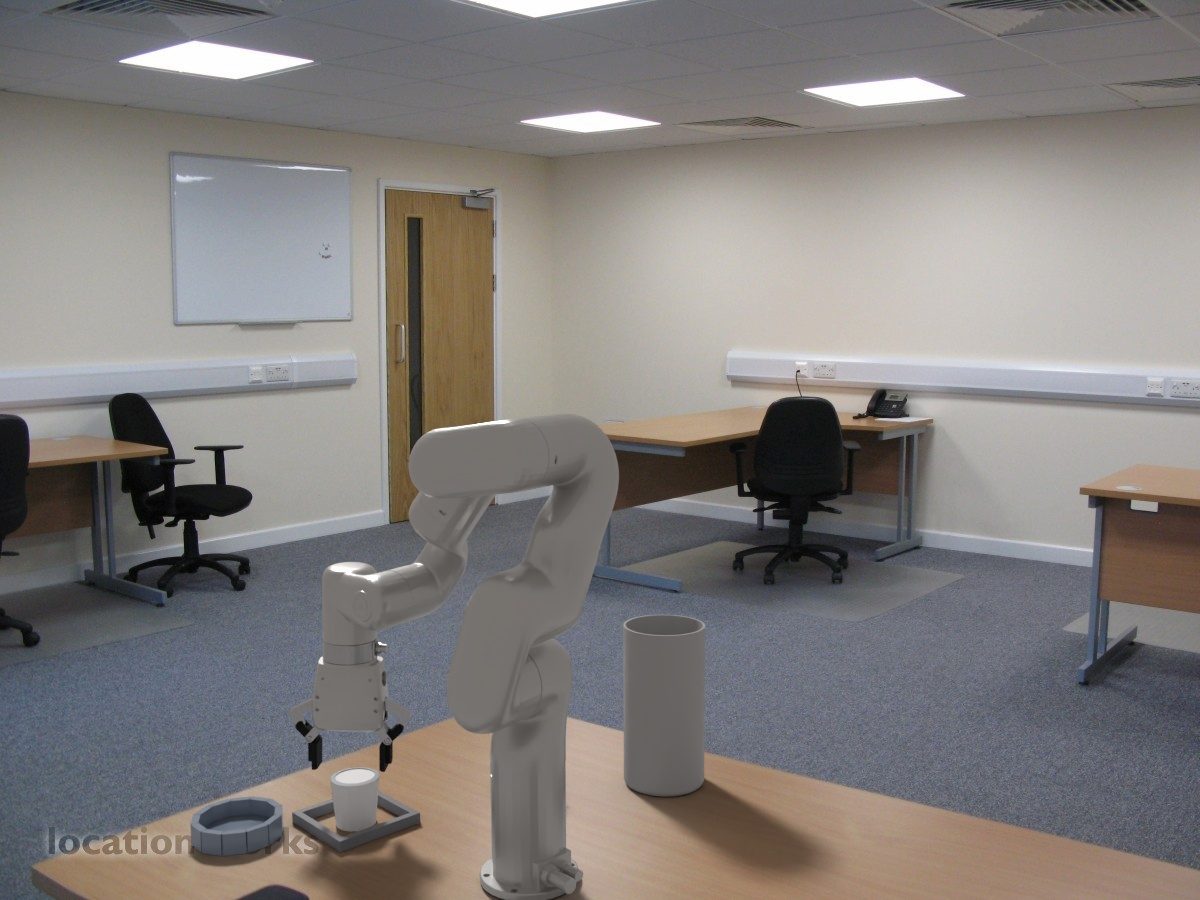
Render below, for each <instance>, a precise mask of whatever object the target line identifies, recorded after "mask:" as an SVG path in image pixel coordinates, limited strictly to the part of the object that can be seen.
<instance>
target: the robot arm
mask: <svg viewBox="0 0 1200 900" xmlns="http://www.w3.org/2000/svg"><path fill="white" fill-rule="evenodd" d="M610 440H611V439H609V437H608V436H607V434H606V433H605V432H604V430H603V429H602V428H601V427H599V425H598V424H597V423H595V422H593V421H592V420H590V419H589V418H587V417H584V416H581V415H577V414H573V413H572V414H571V413H552V414H551V413H550V414H549V413H548V414H542V415H541V414H540V415H535V416H526V417H518V418H517V417H516V418H508V419H507V418H506V419H501V420H494V421H487V422H482V423H476V424H466V425H457V426H456V425H455V426H447V427H440V428H435V429H432V430H430V431H427V432H426V433H424V434H423V435H421V437H420V438H418V440H417V441H416V442H415V444H414V445H413V448H412V449H411V451H410V455H409V458H408V473H409V478H410V480H411V482H412V484H413V485H414V487H415V488H416V489H417V490H418V493H417V495H416V496H415V498H414V499H413V501H412V503H411V504H410V506H409V509H408V520H409V523H410V525H411V526H412V529H413V530H414V531H415V532H416V534H418V535H419V536H420V537H421V538H422V539H423V540H424V541H426V543H425V545H424V547H423V548H422V550H421V551H420V553H419V554H418V556H417V557H416V559H415V560H414V561H413V563H411V564H408V565H407V564H406V565H402V566H398V567H395V568H391V569H387V570H384V571H380V572H377V571H376V568H375V567H374V566H372V565H371V564H369V563H366V562H361V561H360V562H359V561H343V562H338V563H334V564H331V565H329V566H328V567H326V568H325V569H324V570H323V574H322V578H321V580H322V582H321V588H322V589H321V591H322V592H321V593H322V594H321V595H322V596H321V598H322V600H321V603H322V604H321V606H322V607H321V608H322V609H321V613H322V619H321V620H322V656H320V658H319V659H318V662H317V667H316V672H315V679H314V685H313V686H314V687H313V696H312V697H311V698H308V699H306V700H304V701H302V702H300V703H298V704H296V705H293V706H292V707H291V708H290V709H289V710H288V715H289V717H290V719H291V721H292V722H293V724H294V725H295V726H294V727H295V730H297V731H298V733H300V735H302V737H304V741H305V742H306V743H307V755H308V756H307V759H308V762H311V770H312V771H316V770H318V768H319V767H320V766H321V764H322V763H323V737H322V734H321V732H322V731H327V732H330V731H331V732H354V733H355V732H356V733H375V735H376V736H377V737H378V738H379V739H380V741H381V742H380V744H379V748H378V749H379V752H378V753H379V758H378V759H379V761H378V762H379V764H378V765H379V769H378V770H379V772H380V773H385V772H386V770H387V769H388V766H389V765H391V764H392V763H393V759H394V758H393V755H394V754H393V751H394V750H393V748H394V747H393V743H394V741H395V739H396V738H398V737H399V736H400V735H401V734H402V733H403V731H404V730H405V727H406V726H407V724H408V723H409V721H410V719H411V717H412V714H413V713H412V710H411V709H409V708H406V707H405V706H403V705H401V704H399V703H397V702H395V701H393V700H391V699H390V698H389V690H388V689H389V687H388V680H387V672H386V665H385V661H384V658H383V656H379V655H382V654H387V653H388V648H389V646H388V643H383V642H380V640H379V636H378V631H383V630H386V629H389V628H392V627H393V628H394V627H395V626H399V625H402V624H404V623H407V622H410V621H414V620H416V619H420V618H422V617H426V616H429V615H431V614H433V613H434V612H436V611H437V610H438V609H439V608H441V606H442V605H443V604H444V603H445V602H446V601H447V599H448V598H450V597H449V596H451V594H452V593H453V591H454V589H455V588H456V586H457V585H458V583H459V582H460V580H461V579H462V577H463V576H464V573H465V572H466V568H467V564H468V553H469V546H468V545H469V544H468V540H467V539H468V537H469V536H470V535H471V533H472V531H473V530H474V528H475V527H476V525H477V524H478V523H479V521H480V519H481V518H482V517H483V515H484V513H485V512H486V510H487V509H488V507H489V506H490V504H491V503H492V501H493V500H494V498H495V497H496V496H497V495H505V494H514V493H520V492H521V493H522V492H527V491H530V490H537V489H541V488H545V487H551V486H553V487H552V491H551V494H550V495H549V496H548V499H547V500H546V502H544V505H543V506H542V507H541V510H540V511H539V513H538V515H537V517H536V518H535V521H534V523H533V526H532V531H531V534H530V539H529V542H528V546H527V548H526V551H525V554H524V556H523V558H522V560H521V561H520V563H518V564H517V565H516V566H515V567H512V568H509V569H505V570H503V571H502V570H501V571H499V572H497V573H494V574H492V575H490V576H488V577H487V578H485V579H484V580H483V581H482V582H480V583H479V584H478V585H477V587H475V589H474V590H473V592H472V594H471V596H470V597H469V599H468V601H467V604H466V606H465V609H464V610H465V611H464V613H463V616H462V620H461V625H460V628H459V632H458V635H457V639H456V643H455V647H454V651H453V653H452V654H453V655H452V659H451V663H450V666H449V670H448V675H447V678H446V679H447V681H446V701H447V706H448V709H449V711H450V714H451V716H452V718H453V719H454V721H455V722H456V723H457V725H459V726H460V727H461V728H462V729H463V730H466V731H467V732H469V733H473V734H477V735H487V734H488V735H489V734H491V740H490V752H489V753H490V756H489V757H490V770H489V771H490V824H491V825H490V826H491V827H490V828H491V833H490V834H491V837H490V838H491V858H489V859H488V860H486V862H484V863H483V865H482V866H481V868H480V870H479V882H480V885H481V887H482V888H483V889H484V891H485V892H487V893H489V894H490V895H491V896H494V897H496V898H497V899H501V900H552V899H555V898H557V897H560V896H562V895H564V894H567V895H570V894H573V892H575V890H576V888H577V883H578V882H580V881H581V880H582V879H583V878H584V872H583V870H581V869H579V866H578V864H577V862H576V861H575V860H574V859H573V858H572V850H571V849H569V848H567V813H566V812H567V798H566V797H567V796H566V795H567V789H566V785H567V784H566V779H567V777H566V775H567V772H566V769H567V768H566V766H567V765H566V764H567V763H566V760H567V759H566V758H567V756H566V755H567V752H566V751H567V746H566V745H567V743H566V742H567V741H566V740H567V720H568V713H569V707H570V701H571V694H572V689H573V687H572V686H573V666H572V662H571V659H570V657H569V654H568V652H567V650H566V649H565V648H564V646H563V645H562V644H561V643H560V642H559V641H558V640H557V639H554V638H557V637H560V636H562V635H563V634H565V633H567V632H568V631H570V630H571V629H572V628H573V627H575V625H576V624H577V622H578V621H579V619H580V617H581V616H582V615H581V614H582V612H583V608H584V605H585V601H586V599H587V598H586V597H587V595H588V591H589V589H590V588H589V587H590V585H591V582H592V578H593V574H594V571H595V568H596V565H597V561H598V558H599V552H600V548H601V546H602V542H603V538H604V536H605V533H606V530H607V528H608V524H609V521H610V519H611V516H612V513H613V510H614V507H615V502H616V500H617V495H618V491H619V482H620V481H619V480H620V472H619V471H620V468H619V463H618V458H617V454H616V452H615V449H614V446H613V444H612V443H611V441H610ZM310 710H311V711H312V714H311V715H312V724H313V726H312V724H311V723H310V722H308V720H307V719H305V717H304V715H303V714H304V713H306V712H308V711H310ZM389 713H390V714H391V715H393V716H395V717H397V718H398V721H397V723H396V724H395V725H394V726H392V727H391V725H390V724H389V723H388V722H387V721H386V720H388V718H389V715H390V714H389Z"/></svg>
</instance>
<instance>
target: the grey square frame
mask: <svg viewBox="0 0 1200 900" xmlns="http://www.w3.org/2000/svg"><path fill="white" fill-rule="evenodd" d="M377 806H379V807H381V808H383V809H385V810H387V811H388V812H390V813H392V814H394V815H395V816H397V817H395V818H392V819H389V820H386V821H383V822H380V823H376V824H374V825H373V826H372V827H369V828H366V829H363V830H361V831H354V832H353V833H350V834H346V835H344V836H341V835H340V834H338V833H336V832H335V831H333V830H332V829H330V828H328V826H327V827H326V826H325V825H324V824H322V823H321V822H318V820H315V818H319V817H323V816H325V815H328V814H331V813H335V812H334V804H333V798H331V799H329V800H325V801H322V802H319V803H315V804H313V805H310V806H307V807H304V808H300V809H298V810H295V811H292V812H291V816H292V817H291V818H292V823H293V824H295V825H296V826H297V827H299V828H301V829H303V830H304V831H306V832H307V833H309V834H310V835H312V836H313V837H315V838H317V839H318V840H319V841H322V842H323V843H324V844H326V845H327V846H329V847H331V848H332V849H334V850H336V851H337V852H339V853H342V852H344V851H347V850H351V849H354V848H356V847H358V846H362V845H364V844H366V843H369V842H372V841H374V840H377V839H381V838H383V837H386V836H389V835H391V834H393V833H396V832H399V831H403V830H404V829H407V828H411V827H412V826H416V825H418V824H421V812H419V811H418V810H416V809H414V808H413V807H410V806H409V805H407V804H405V803H403V802H401V801H399V800H397V799H396V798H393V797H392V796H390V795H388V794H386V793H384V792H382V791H380V790H378V803H377ZM415 824H416V825H415Z"/></svg>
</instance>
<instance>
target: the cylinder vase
mask: <svg viewBox="0 0 1200 900" xmlns="http://www.w3.org/2000/svg"><path fill="white" fill-rule="evenodd" d="M622 633H623V635H622V636H623V637H622V638H623V641H622V642H623V643H622V644H623V646H622V647H623V650H622V651H623V658H622V659H623V660H622V661H623V663H622V664H623V666H622V667H623V780H624V782H625V783H626V785H627V786H628V787H629V788H630V789H631V790H634V791H635V792H637V793H640V794H643V795H647V796H652V797H661V798H662V797H664V798H665V797H679V796H683V795H688V794H691V793H693V792H695V791H697V790H698V789H699V788H700V787H701V786H702V785H703V784H704V781H705V739H706V738H705V729H706V728H705V722H706V720H705V719H706V718H705V716H706V715H705V714H706V713H705V712H706V709H705V708H706V705H705V704H706V700H705V698H706V697H705V691H706V690H705V689H706V688H705V687H706V686H705V685H706V683H705V682H706V680H705V679H706V669H705V668H706V654H705V653H706V624H705V623H704V621H701V620H700V619H697V618H694V617H690V616H686V615H679V614H676V615H675V614H649V615H641V616H635V617H632V618H629V619H627V620H626V621H624V622H623V631H622Z"/></svg>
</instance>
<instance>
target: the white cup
mask: <svg viewBox="0 0 1200 900" xmlns="http://www.w3.org/2000/svg"><path fill="white" fill-rule="evenodd" d="M329 781H330V787H331V789H330V790H331V795H332V797H331V798H332V799H333V804H334V812H333V813H334V819H335V825H336V828H337V829H339V830H341V831H345V832H358V831H361V830H363V829H366V828H369V827H372V826H374V825H377V823H376V822H377V816H378V815H377V814H378V805H377V803H378V791H379V787H380V786H379V785H380V773H379V772H378V770H376V769H374V768H372V767H371V768H370V767H362V766H360V767H358V766H356V767H349V768H343V769H341V770H339V771H336V772H335V773H333V774H332V775H331V777H330V779H329Z"/></svg>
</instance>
